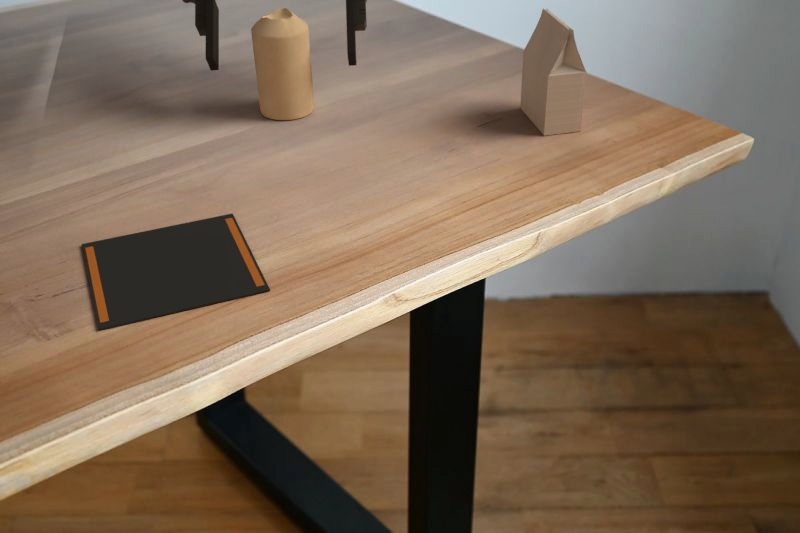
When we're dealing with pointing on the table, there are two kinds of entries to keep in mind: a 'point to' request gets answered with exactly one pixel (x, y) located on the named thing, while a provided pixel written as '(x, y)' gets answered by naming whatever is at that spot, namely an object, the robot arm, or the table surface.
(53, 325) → the table surface
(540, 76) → the tan gable-top carton
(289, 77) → the candle
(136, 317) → the mat
